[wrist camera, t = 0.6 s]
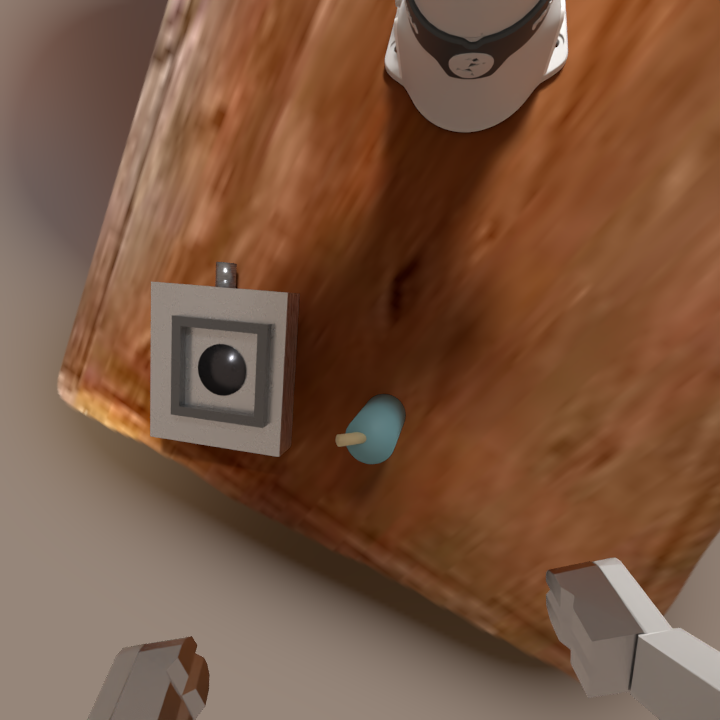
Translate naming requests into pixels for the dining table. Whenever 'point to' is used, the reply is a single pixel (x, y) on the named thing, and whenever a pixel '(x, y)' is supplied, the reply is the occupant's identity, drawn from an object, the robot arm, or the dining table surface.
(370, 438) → the spout can
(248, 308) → the ball socket block
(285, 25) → the dining table surface
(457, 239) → the dining table surface
